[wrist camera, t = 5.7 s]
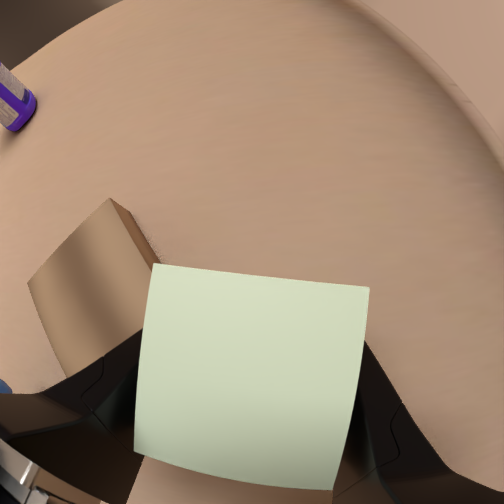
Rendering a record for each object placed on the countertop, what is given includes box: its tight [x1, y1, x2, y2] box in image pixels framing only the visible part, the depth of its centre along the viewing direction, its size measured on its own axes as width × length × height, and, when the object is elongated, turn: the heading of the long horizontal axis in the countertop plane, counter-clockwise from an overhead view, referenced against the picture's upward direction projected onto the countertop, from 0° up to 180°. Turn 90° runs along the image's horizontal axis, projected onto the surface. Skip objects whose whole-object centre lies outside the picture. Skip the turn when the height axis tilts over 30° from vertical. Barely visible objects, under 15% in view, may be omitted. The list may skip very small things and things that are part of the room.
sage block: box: [134, 263, 369, 490], centre depth 11 cm, size 5×5×10 cm
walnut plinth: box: [27, 198, 161, 378], centre depth 18 cm, size 10×10×3 cm
